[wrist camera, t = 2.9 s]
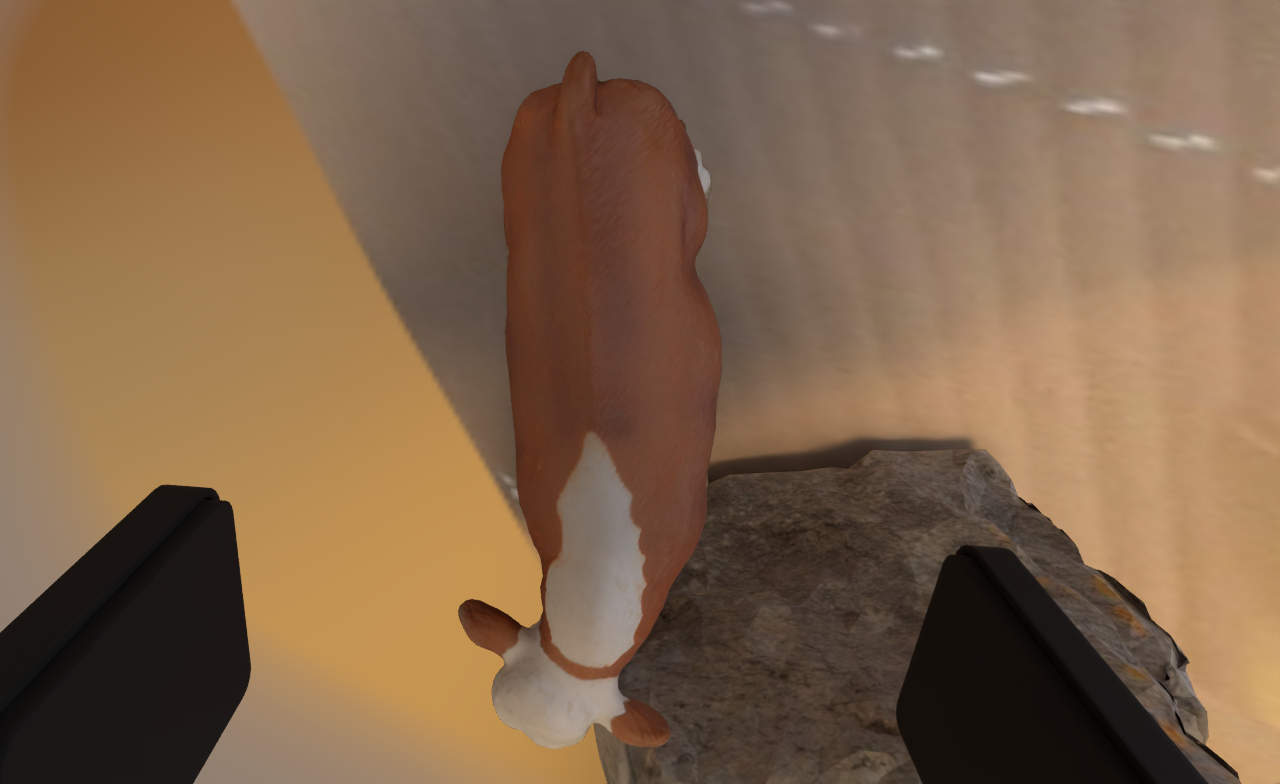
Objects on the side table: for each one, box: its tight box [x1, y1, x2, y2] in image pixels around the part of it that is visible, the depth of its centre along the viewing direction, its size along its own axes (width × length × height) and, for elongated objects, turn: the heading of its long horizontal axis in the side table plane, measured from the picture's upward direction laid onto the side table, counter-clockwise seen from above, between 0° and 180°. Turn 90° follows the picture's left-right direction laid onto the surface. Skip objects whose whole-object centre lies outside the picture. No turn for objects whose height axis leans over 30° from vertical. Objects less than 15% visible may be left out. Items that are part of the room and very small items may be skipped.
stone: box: [594, 450, 1241, 784], centre depth 19 cm, size 13×17×15 cm
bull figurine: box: [458, 51, 722, 749], centre depth 16 cm, size 4×13×8 cm, turn 178°
